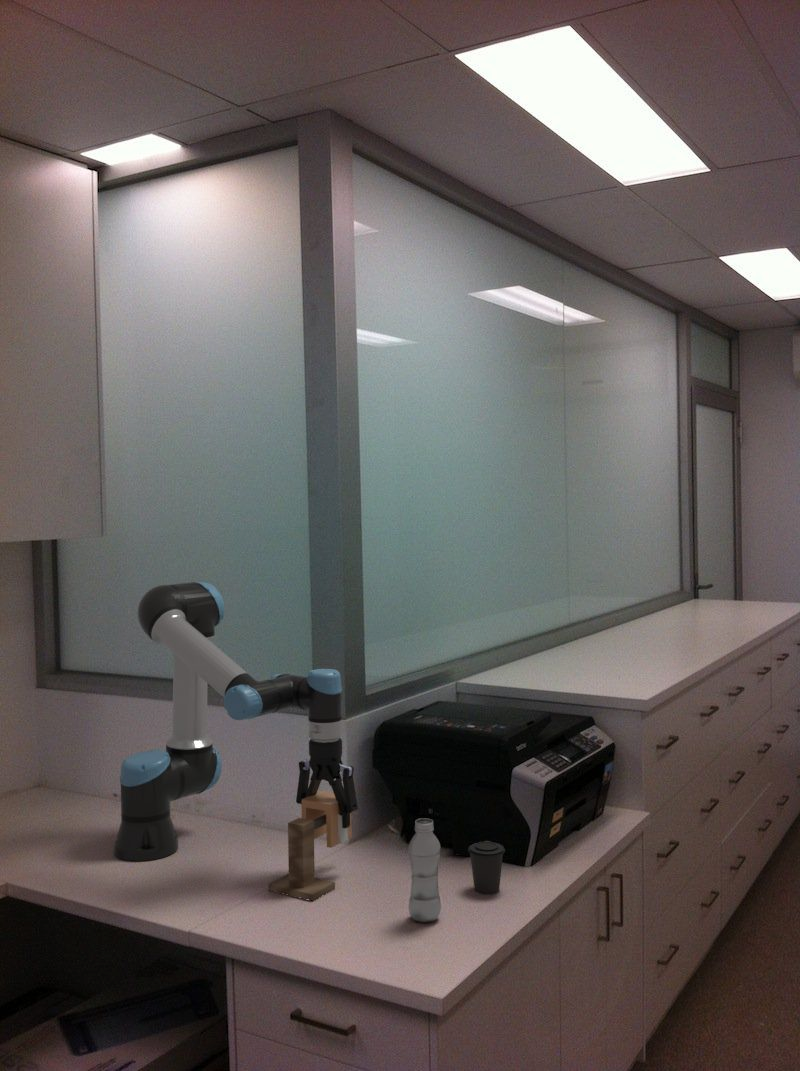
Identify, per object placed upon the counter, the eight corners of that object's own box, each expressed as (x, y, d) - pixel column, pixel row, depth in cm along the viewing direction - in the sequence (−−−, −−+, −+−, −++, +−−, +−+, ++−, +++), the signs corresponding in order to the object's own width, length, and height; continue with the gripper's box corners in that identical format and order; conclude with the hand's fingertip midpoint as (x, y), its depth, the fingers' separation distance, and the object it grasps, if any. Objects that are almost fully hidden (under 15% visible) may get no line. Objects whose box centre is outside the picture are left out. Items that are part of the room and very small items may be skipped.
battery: (479, 848, 242) (479, 807, 242) (469, 857, 236) (469, 815, 236) (462, 846, 244) (462, 805, 244) (452, 855, 238) (452, 813, 237)
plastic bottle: (401, 919, 201) (400, 821, 200) (425, 909, 206) (424, 814, 205) (424, 929, 196) (423, 828, 196) (448, 918, 201) (447, 820, 200)
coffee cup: (495, 880, 221) (494, 836, 221) (512, 893, 214) (511, 847, 213) (462, 886, 218) (461, 841, 218) (478, 899, 211) (477, 852, 210)
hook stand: (268, 890, 217) (267, 820, 216) (327, 859, 236) (327, 794, 235) (313, 901, 210) (312, 829, 210) (370, 868, 229) (369, 801, 229)
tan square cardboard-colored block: (302, 841, 223) (301, 799, 223) (323, 831, 230) (322, 790, 230) (331, 847, 219) (330, 804, 219) (351, 837, 226) (350, 795, 226)
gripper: (278, 737, 226) (280, 836, 227) (354, 747, 216) (356, 851, 216) (298, 730, 233) (300, 826, 233) (373, 740, 222) (374, 841, 223)
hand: (327, 838), depth 225 cm, fingers closed on tan square cardboard-colored block, 8 cm apart
